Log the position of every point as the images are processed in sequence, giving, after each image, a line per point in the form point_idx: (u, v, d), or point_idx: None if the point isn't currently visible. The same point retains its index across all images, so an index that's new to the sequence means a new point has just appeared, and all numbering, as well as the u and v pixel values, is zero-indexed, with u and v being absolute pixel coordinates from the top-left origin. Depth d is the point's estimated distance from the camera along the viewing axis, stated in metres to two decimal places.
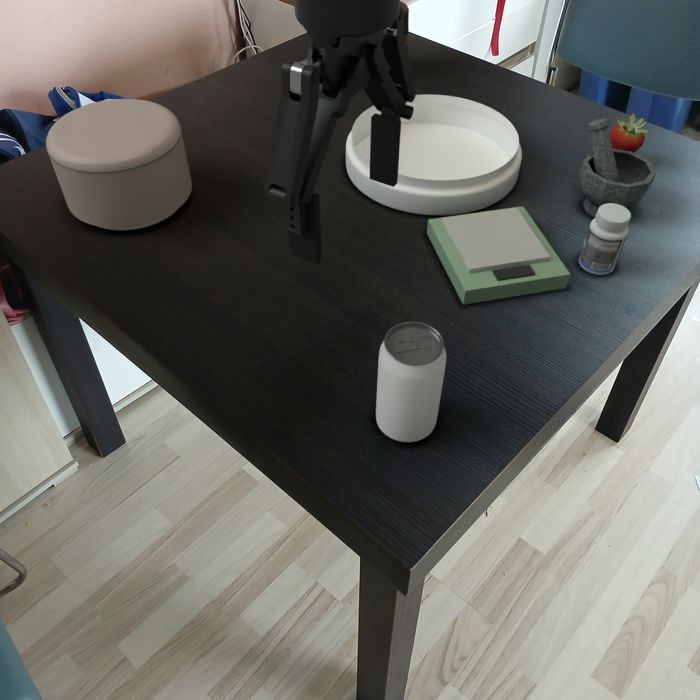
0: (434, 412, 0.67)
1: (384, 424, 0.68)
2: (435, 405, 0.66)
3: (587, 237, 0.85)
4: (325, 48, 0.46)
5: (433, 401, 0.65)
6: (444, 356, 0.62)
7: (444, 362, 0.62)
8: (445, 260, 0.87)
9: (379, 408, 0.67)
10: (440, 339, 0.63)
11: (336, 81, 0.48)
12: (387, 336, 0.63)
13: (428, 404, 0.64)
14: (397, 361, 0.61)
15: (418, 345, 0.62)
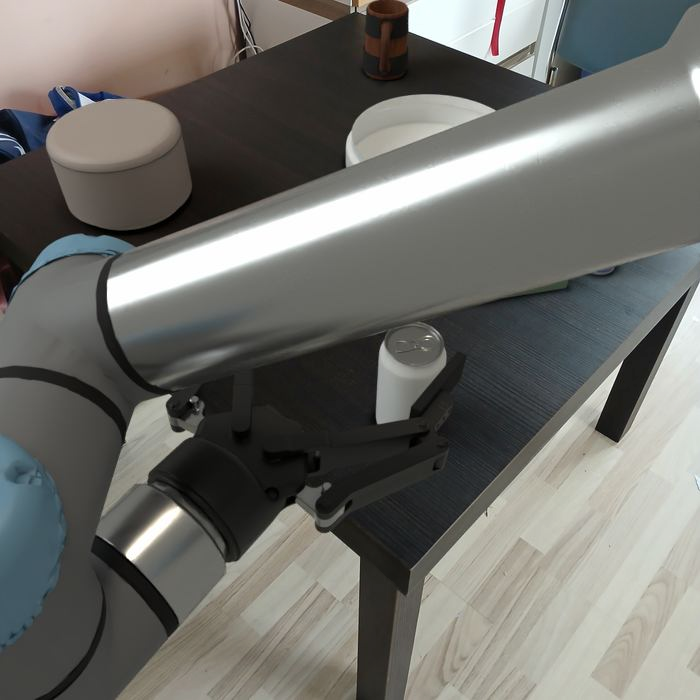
0: None
1: None
2: None
3: None
4: (283, 498, 0.40)
5: None
6: (444, 356, 0.62)
7: (444, 362, 0.62)
8: None
9: (379, 408, 0.67)
10: (440, 339, 0.63)
11: (301, 461, 0.41)
12: (387, 336, 0.63)
13: None
14: (397, 361, 0.61)
15: (418, 345, 0.62)
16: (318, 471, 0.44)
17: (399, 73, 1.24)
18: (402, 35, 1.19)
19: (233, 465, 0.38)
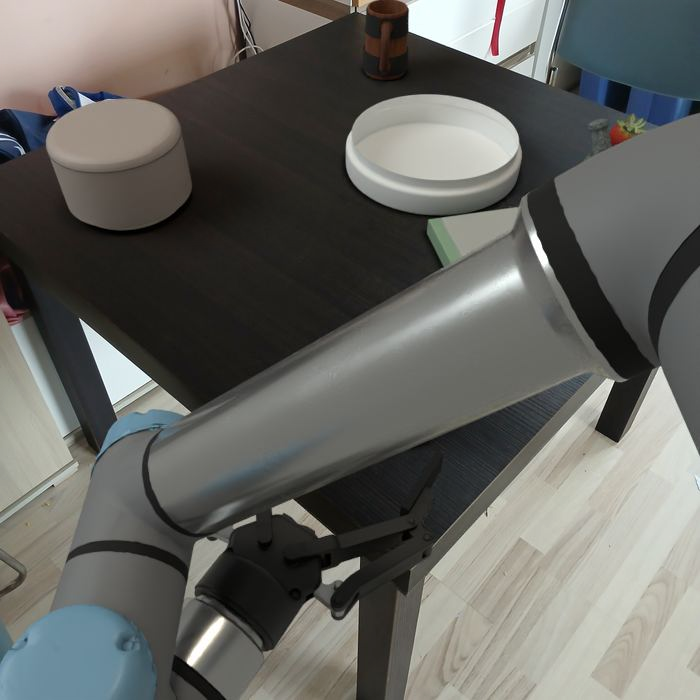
0: None
1: None
2: None
3: None
4: (304, 596, 0.50)
5: None
6: None
7: None
8: (445, 260, 0.87)
9: None
10: None
11: (316, 563, 0.52)
12: None
13: None
14: None
15: None
16: (330, 566, 0.54)
17: (399, 73, 1.24)
18: (402, 35, 1.19)
19: (263, 577, 0.48)
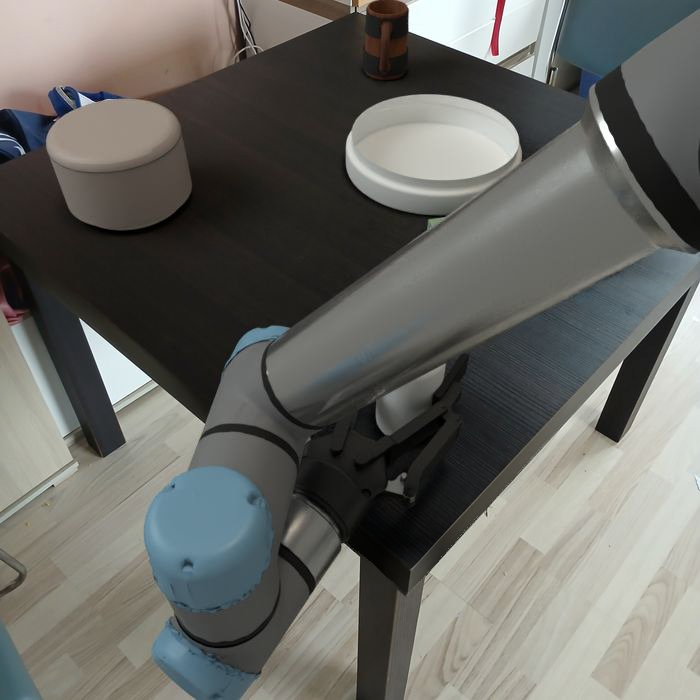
0: None
1: (384, 424, 0.68)
2: None
3: None
4: (374, 496, 0.57)
5: None
6: None
7: None
8: None
9: (379, 408, 0.67)
10: None
11: (382, 469, 0.58)
12: None
13: (428, 404, 0.64)
14: None
15: None
16: (388, 464, 0.61)
17: (399, 73, 1.24)
18: (402, 35, 1.19)
19: (340, 475, 0.55)
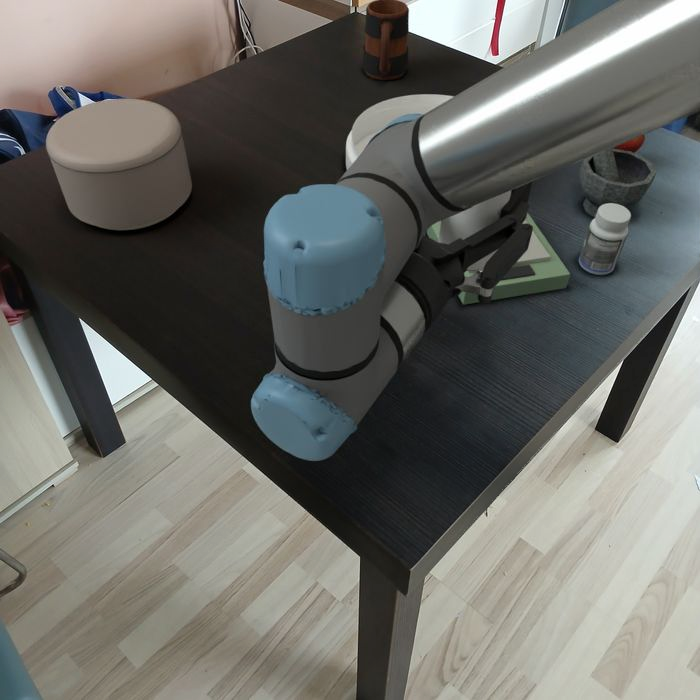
0: None
1: None
2: None
3: (587, 237, 0.85)
4: (452, 288, 0.58)
5: None
6: None
7: None
8: None
9: (444, 234, 0.68)
10: None
11: (459, 265, 0.59)
12: None
13: None
14: None
15: None
16: None
17: (399, 73, 1.24)
18: (402, 35, 1.19)
19: (422, 260, 0.56)
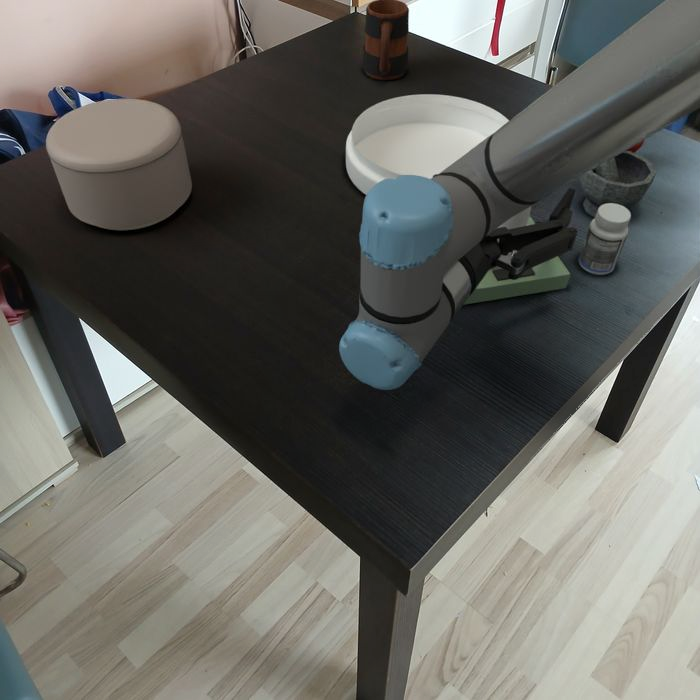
0: None
1: None
2: (526, 218, 0.82)
3: (587, 237, 0.85)
4: (491, 260, 0.72)
5: (526, 212, 0.81)
6: None
7: None
8: None
9: None
10: None
11: (496, 243, 0.73)
12: None
13: (522, 214, 0.80)
14: None
15: None
16: (501, 254, 0.75)
17: (399, 73, 1.24)
18: (402, 35, 1.19)
19: None
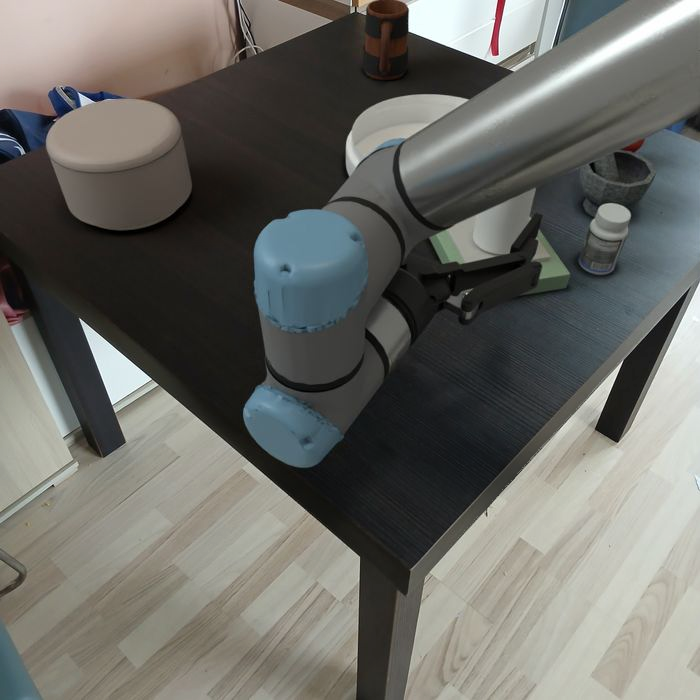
0: (525, 226, 0.83)
1: (483, 238, 0.84)
2: (526, 218, 0.82)
3: (587, 237, 0.85)
4: (438, 303, 0.60)
5: (526, 212, 0.81)
6: None
7: None
8: (445, 260, 0.87)
9: (479, 224, 0.83)
10: None
11: (445, 281, 0.62)
12: None
13: (522, 214, 0.80)
14: None
15: None
16: (452, 293, 0.64)
17: (399, 73, 1.24)
18: (402, 35, 1.19)
19: (409, 276, 0.58)
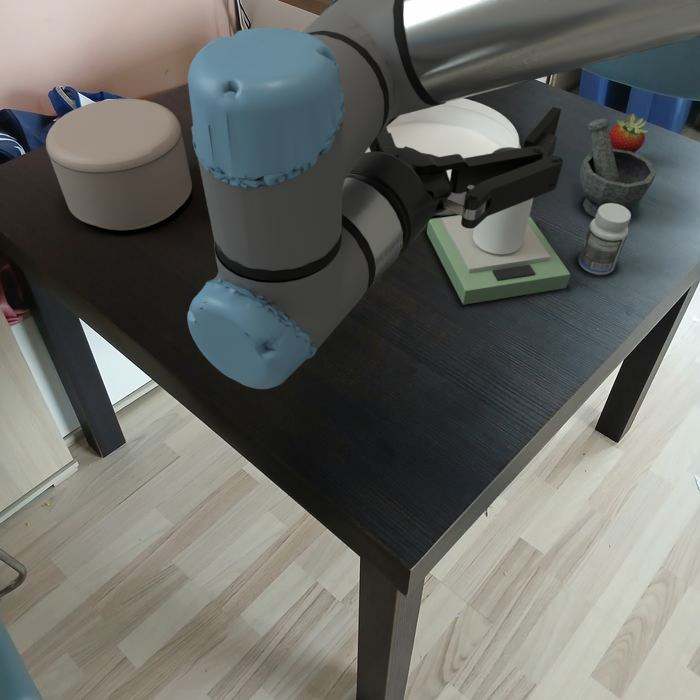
0: (525, 226, 0.83)
1: (483, 238, 0.84)
2: (526, 218, 0.82)
3: (587, 237, 0.85)
4: (436, 200, 0.49)
5: (526, 212, 0.81)
6: None
7: None
8: (445, 260, 0.87)
9: (479, 224, 0.83)
10: None
11: (445, 176, 0.50)
12: None
13: (522, 214, 0.80)
14: None
15: None
16: None
17: None
18: None
19: (400, 163, 0.47)
